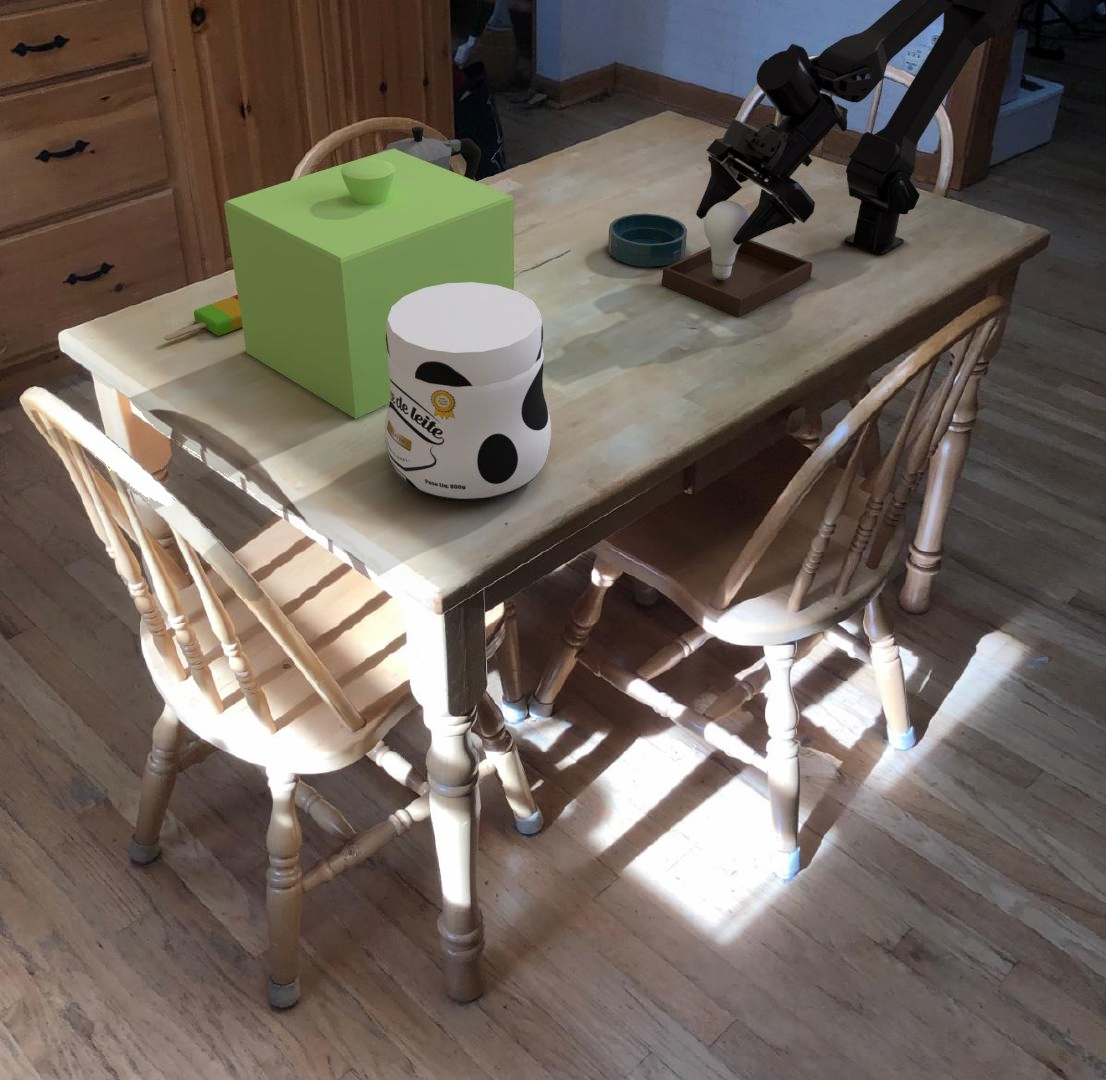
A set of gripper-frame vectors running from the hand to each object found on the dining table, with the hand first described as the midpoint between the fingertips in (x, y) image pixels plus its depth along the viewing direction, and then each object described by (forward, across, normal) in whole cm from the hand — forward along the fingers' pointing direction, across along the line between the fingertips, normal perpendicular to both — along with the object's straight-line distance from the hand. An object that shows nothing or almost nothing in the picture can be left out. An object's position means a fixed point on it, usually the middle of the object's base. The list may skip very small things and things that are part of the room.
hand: (716, 229), depth 162 cm
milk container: (+39, +28, -28) cm, 55 cm away
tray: (+3, +1, +8) cm, 9 cm away
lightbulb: (+4, 0, +6) cm, 8 cm away
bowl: (+8, -13, +4) cm, 15 cm away
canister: (+39, -1, -27) cm, 48 cm away
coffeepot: (+28, -25, -16) cm, 41 cm away
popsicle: (+51, -15, -39) cm, 66 cm away
